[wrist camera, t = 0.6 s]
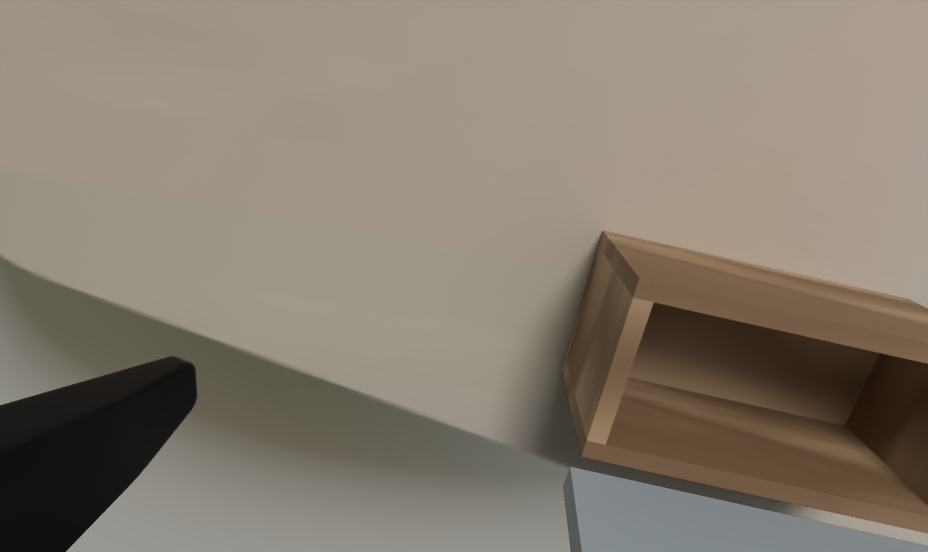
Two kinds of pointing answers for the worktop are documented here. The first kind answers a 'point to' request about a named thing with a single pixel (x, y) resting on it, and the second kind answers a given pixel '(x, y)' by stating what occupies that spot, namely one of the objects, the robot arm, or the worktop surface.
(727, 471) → the walnut box
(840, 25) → the worktop surface
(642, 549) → the box lid
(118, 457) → the robot arm
